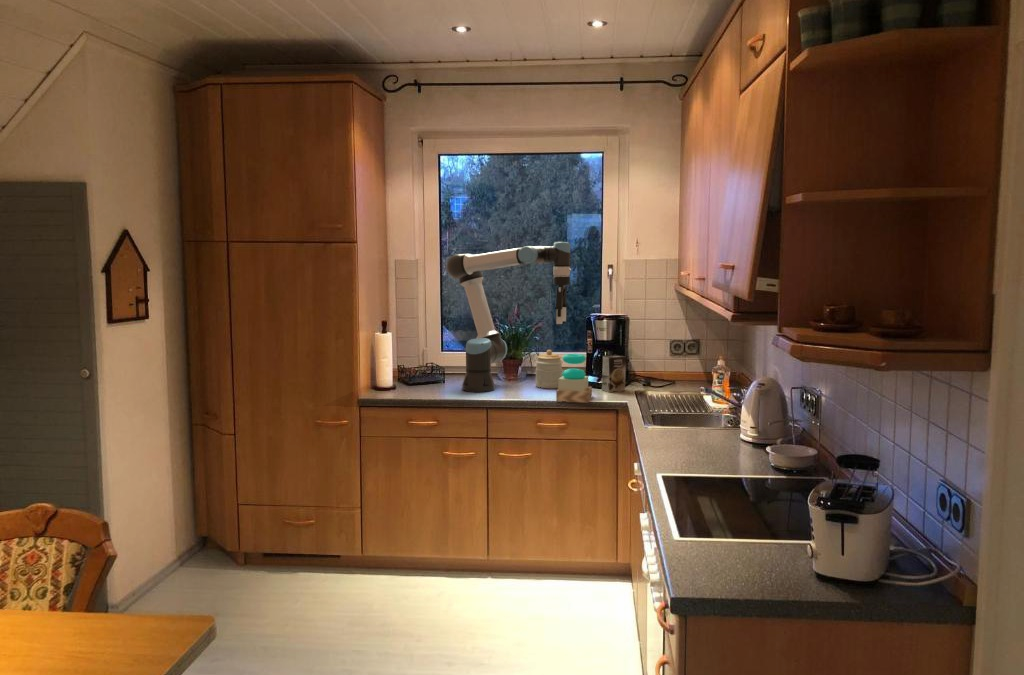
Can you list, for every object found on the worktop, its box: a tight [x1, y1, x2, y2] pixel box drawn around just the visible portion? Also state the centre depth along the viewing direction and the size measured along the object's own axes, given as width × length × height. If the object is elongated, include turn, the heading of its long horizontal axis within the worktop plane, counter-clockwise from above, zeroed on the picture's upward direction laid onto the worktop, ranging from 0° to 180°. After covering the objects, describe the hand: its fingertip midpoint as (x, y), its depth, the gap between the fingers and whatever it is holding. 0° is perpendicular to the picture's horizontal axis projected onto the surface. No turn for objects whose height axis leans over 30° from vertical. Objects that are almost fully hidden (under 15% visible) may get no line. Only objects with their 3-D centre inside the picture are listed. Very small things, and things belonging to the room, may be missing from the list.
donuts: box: [562, 353, 587, 379], centre depth 336 cm, size 10×10×10 cm
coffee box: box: [601, 354, 627, 393], centre depth 357 cm, size 9×6×16 cm
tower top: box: [557, 375, 589, 392], centre depth 337 cm, size 11×11×5 cm
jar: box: [535, 349, 564, 389], centre depth 368 cm, size 13×13×18 cm
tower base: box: [555, 386, 593, 403], centre depth 338 cm, size 14×14×5 cm
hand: (561, 322), depth 353 cm, fingers open, 13 cm apart
